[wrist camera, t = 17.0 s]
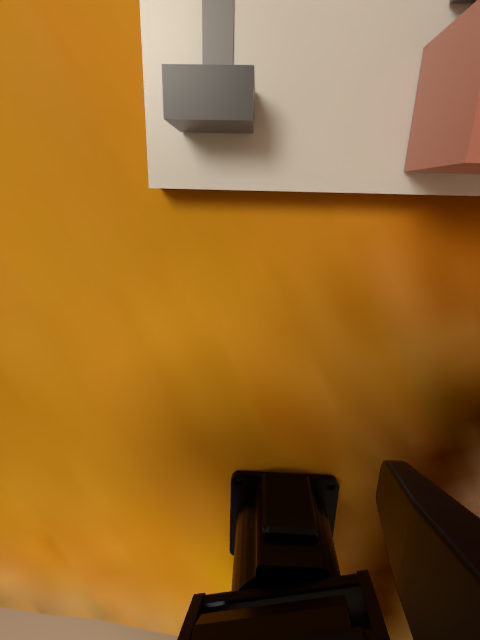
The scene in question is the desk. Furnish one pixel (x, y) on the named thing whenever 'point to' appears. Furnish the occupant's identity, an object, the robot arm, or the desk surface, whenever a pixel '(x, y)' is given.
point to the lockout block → (448, 101)
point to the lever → (209, 97)
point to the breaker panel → (299, 94)
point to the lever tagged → (463, 1)
